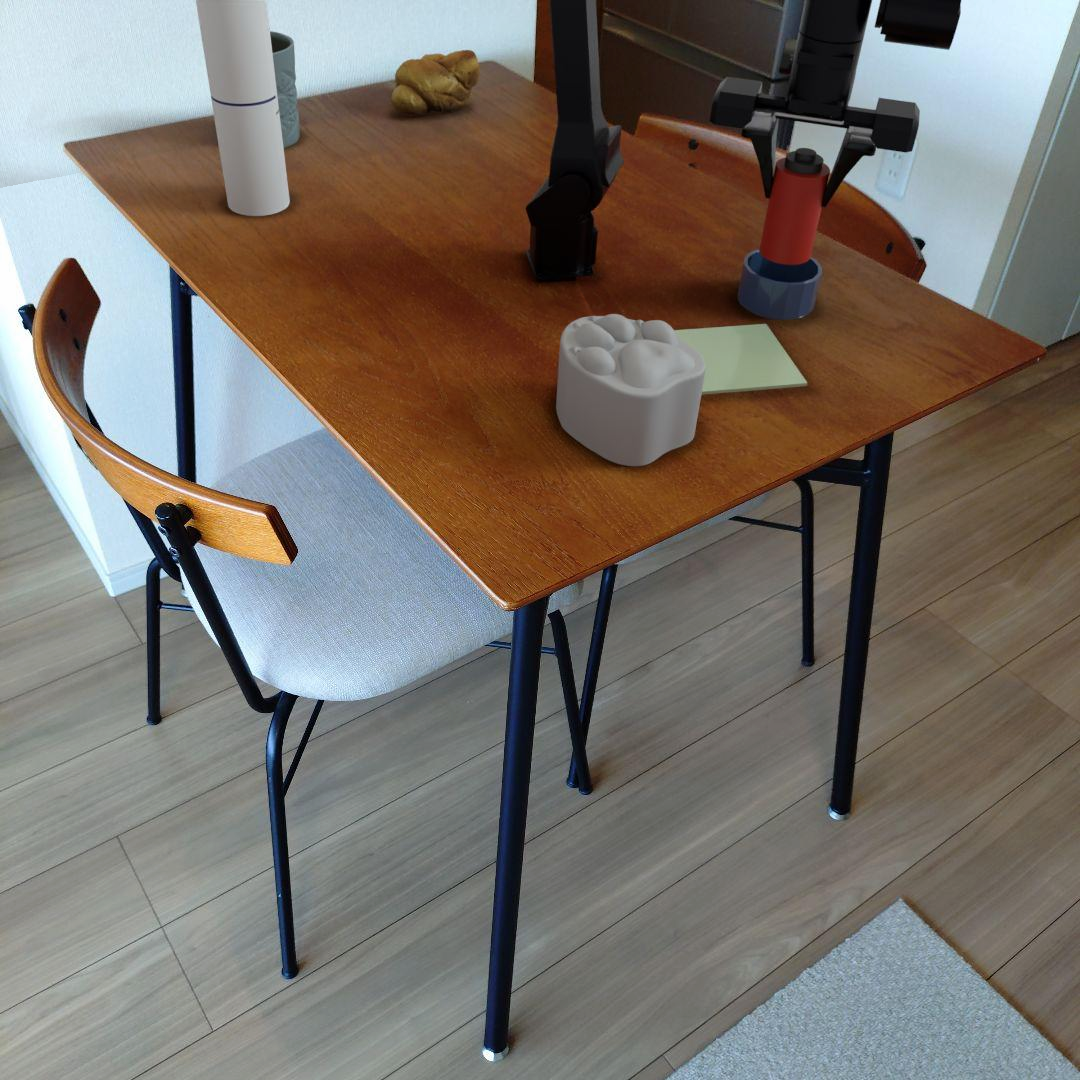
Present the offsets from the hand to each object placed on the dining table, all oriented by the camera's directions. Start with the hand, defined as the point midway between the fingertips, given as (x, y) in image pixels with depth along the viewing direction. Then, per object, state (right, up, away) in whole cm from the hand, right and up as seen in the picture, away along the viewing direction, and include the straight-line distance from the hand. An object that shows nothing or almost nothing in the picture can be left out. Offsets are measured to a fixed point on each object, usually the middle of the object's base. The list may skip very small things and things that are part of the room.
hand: (796, 201), depth 106 cm
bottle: (0, -4, +4) cm, 6 cm away
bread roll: (-41, +28, +46) cm, 68 cm away
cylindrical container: (-59, +6, +21) cm, 62 cm away
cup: (0, -9, +8) cm, 12 cm away
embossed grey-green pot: (-62, +19, +36) cm, 74 cm away
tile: (-7, -16, -1) cm, 18 cm away
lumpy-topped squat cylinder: (-18, -23, -9) cm, 31 cm away
